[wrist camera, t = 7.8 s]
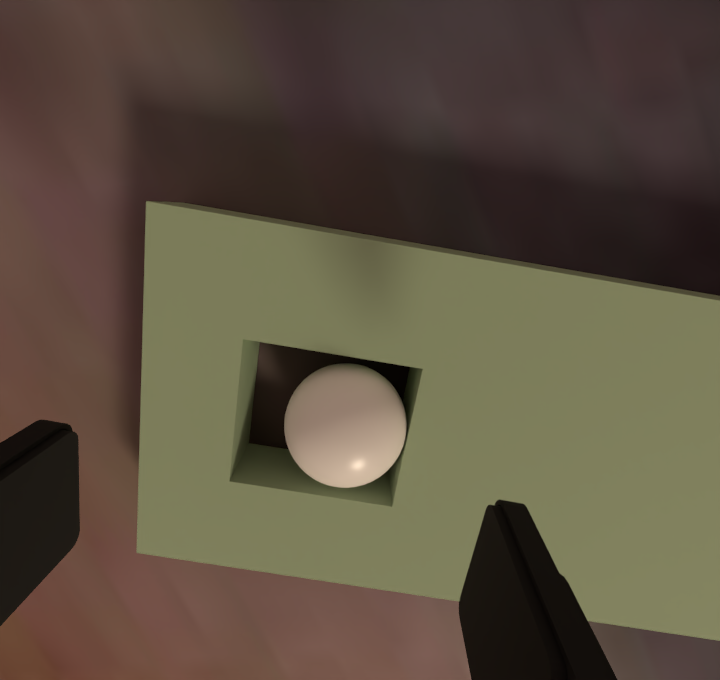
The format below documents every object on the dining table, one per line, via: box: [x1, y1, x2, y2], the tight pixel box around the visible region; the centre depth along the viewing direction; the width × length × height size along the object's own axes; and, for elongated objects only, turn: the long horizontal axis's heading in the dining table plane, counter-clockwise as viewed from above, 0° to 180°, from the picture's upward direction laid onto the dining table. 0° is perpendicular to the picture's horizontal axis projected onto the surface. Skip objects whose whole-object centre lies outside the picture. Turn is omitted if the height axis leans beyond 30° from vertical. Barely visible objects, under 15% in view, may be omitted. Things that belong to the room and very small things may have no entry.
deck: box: [137, 201, 720, 641], centre depth 15 cm, size 22×12×2 cm, turn 80°
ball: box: [284, 363, 407, 488], centre depth 14 cm, size 4×4×4 cm
